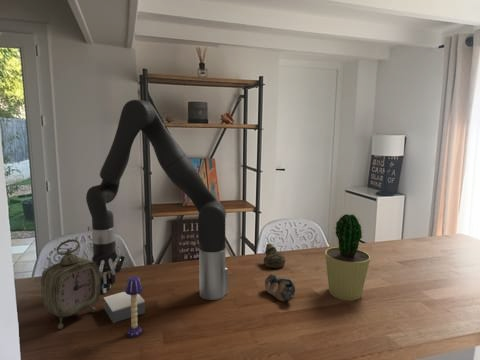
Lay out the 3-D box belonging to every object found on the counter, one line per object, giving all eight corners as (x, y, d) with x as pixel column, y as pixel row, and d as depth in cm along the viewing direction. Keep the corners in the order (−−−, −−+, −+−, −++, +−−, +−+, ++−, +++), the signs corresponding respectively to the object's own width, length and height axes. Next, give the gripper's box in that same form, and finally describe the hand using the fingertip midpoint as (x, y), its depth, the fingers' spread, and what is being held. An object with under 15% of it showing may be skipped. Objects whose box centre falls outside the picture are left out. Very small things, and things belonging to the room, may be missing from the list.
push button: (112, 293, 117) (111, 266, 116) (96, 295, 116) (94, 268, 115) (114, 285, 124) (113, 259, 122) (99, 286, 123) (98, 261, 121)
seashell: (282, 245, 151) (260, 246, 150) (288, 239, 141) (265, 239, 140) (284, 270, 147) (262, 271, 145) (290, 266, 136) (267, 266, 135)
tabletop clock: (57, 334, 94) (51, 250, 90) (40, 324, 98) (34, 243, 95) (102, 311, 106) (98, 236, 102) (85, 303, 111) (81, 231, 107)
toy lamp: (129, 328, 97) (127, 274, 94) (145, 327, 97) (143, 274, 95) (125, 338, 92) (122, 282, 90) (142, 337, 92) (140, 281, 90)
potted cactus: (369, 288, 124) (374, 210, 119) (365, 307, 110) (372, 220, 105) (327, 280, 130) (331, 206, 126) (319, 297, 116) (323, 214, 112)
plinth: (134, 299, 113) (134, 288, 113) (145, 312, 105) (144, 301, 105) (104, 308, 107) (103, 297, 107) (113, 323, 99) (112, 310, 99)
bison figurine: (266, 288, 123) (257, 300, 113) (266, 270, 122) (258, 280, 113) (297, 295, 119) (292, 307, 109) (299, 276, 118) (293, 287, 109)
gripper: (84, 246, 110) (87, 295, 113) (127, 239, 118) (129, 284, 121) (80, 240, 116) (83, 286, 119) (120, 233, 124) (122, 276, 127)
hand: (106, 285), depth 120 cm, fingers open, 3 cm apart
